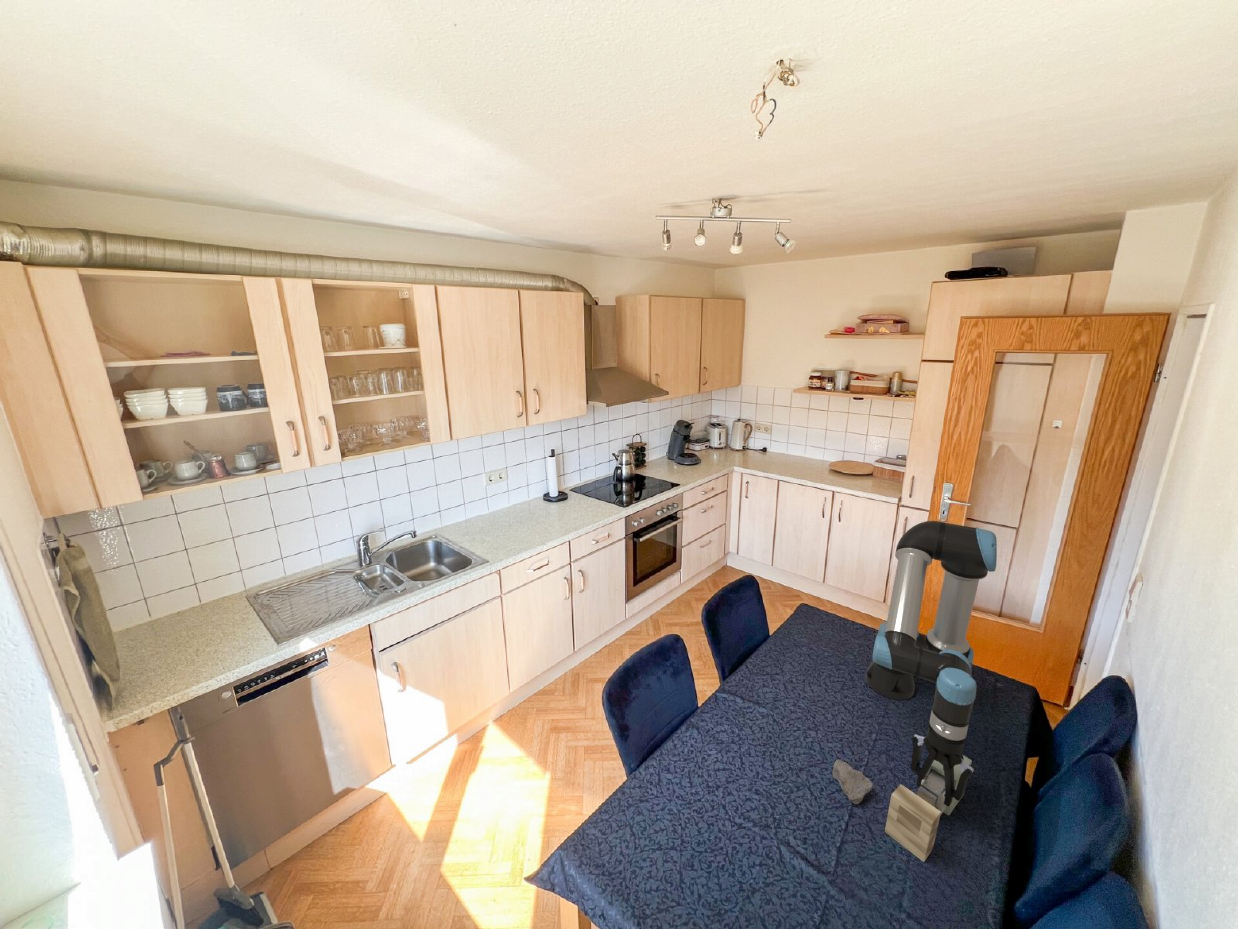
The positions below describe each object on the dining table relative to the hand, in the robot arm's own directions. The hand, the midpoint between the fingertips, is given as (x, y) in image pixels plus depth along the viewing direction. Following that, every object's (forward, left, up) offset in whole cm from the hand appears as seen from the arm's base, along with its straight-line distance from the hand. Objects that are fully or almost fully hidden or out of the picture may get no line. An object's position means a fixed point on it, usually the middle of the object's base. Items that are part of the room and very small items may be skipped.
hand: (931, 804), depth 125 cm
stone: (+10, -16, -3) cm, 19 cm away
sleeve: (-8, 0, -3) cm, 8 cm away
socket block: (+12, 0, -3) cm, 12 cm away
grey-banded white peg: (-4, 0, +3) cm, 5 cm away
